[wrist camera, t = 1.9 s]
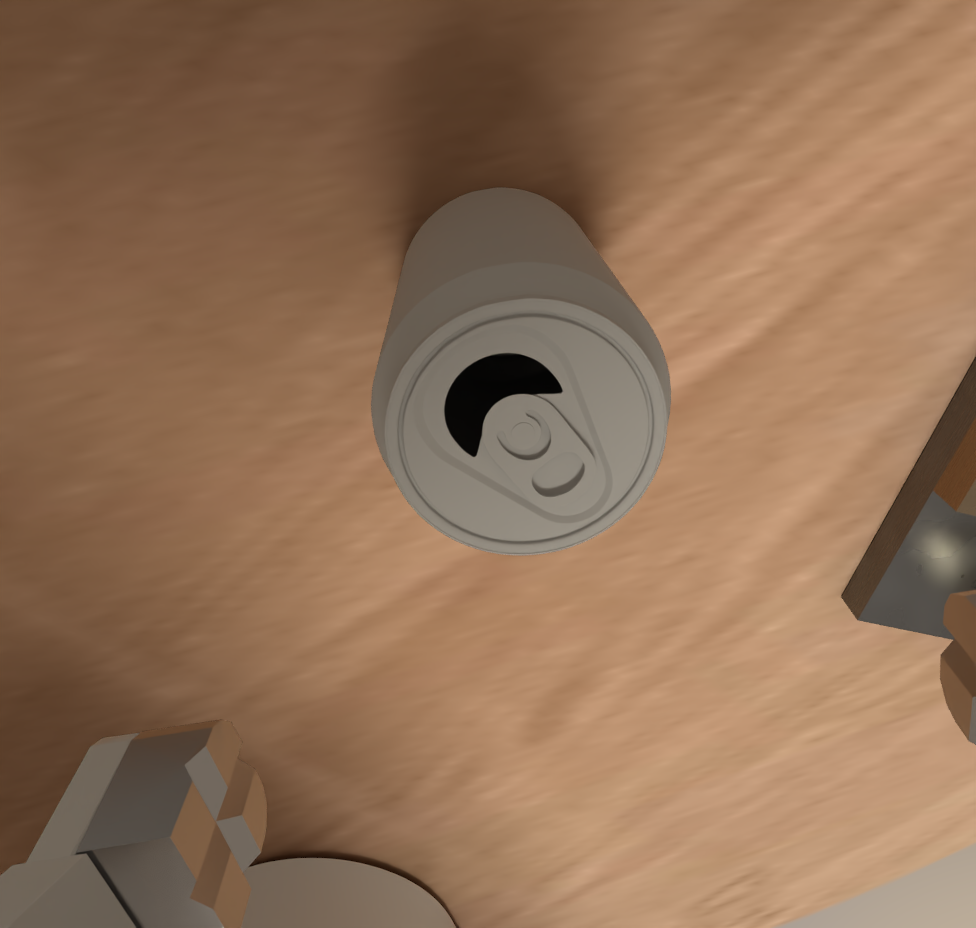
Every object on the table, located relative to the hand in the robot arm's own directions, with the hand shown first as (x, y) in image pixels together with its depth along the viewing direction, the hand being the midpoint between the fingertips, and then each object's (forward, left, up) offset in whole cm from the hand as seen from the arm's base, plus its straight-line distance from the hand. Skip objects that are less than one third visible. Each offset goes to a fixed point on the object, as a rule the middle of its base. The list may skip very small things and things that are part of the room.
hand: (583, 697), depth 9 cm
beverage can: (0, 0, -20) cm, 20 cm away
